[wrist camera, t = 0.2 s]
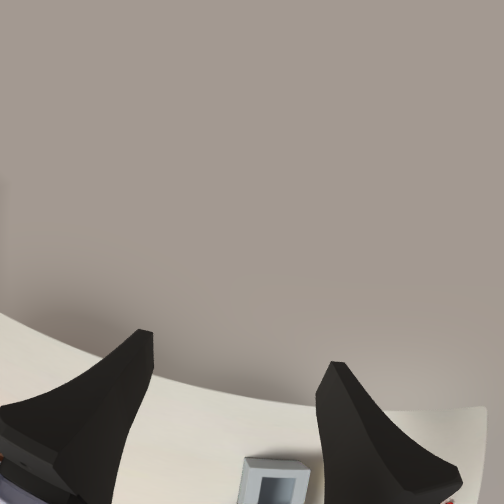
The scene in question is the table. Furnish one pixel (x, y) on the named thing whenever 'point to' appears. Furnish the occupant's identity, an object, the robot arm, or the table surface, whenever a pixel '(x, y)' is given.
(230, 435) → the table surface
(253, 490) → the coin box
